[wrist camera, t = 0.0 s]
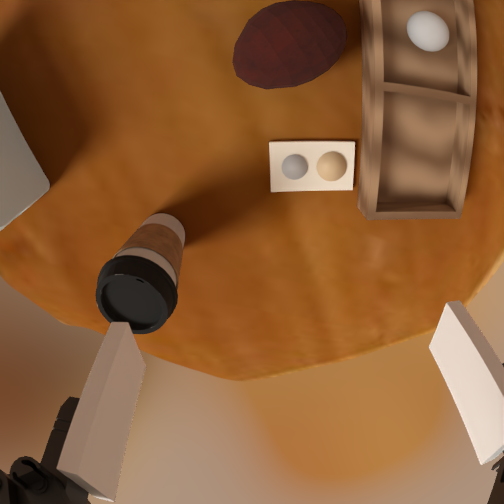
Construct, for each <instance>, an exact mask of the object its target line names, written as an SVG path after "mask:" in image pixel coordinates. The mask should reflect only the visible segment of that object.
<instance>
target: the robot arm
mask: <svg viewBox="0 0 504 504" xmlns="http://www.w3.org/2000/svg"><path fill="white" fill-rule="evenodd" d="M429 349H430V351H431V353H432V355H433V357H434V359H435V361H436V363H437V365H438V367H439V369H440V371H441V373H442V375H443V377H444V379H445V381H446V383H447V385H448V388H449V390H450V392H451V394H452V396H453V399H454V401H455V403H456V405H457V408H458V410H459V412H460V415H461V416H462V419H463V422H464V424H465V426H466V429H467V431H468V434H469V436H470V439H471V441H472V443H473V446H474V449H475V451H476V454H477V457H478V459H479V462H480V465H482V464H484V463H486V462H489V461H491V460H493V459H495V458H496V457H497V456H498V455H499V454H500V453H501V452H503V453H504V363H503V364H502V363H501V362H500V360H499V358H498V357H497V355H496V354H495V352H494V350H493V349H492V347H491V346H490V344H489V343H488V341H487V340H486V338H485V336H484V335H483V333H482V332H481V330H480V329H479V327H478V326H477V324H476V323H475V321H474V320H473V319H472V317H471V316H470V314H469V313H468V312H467V310H466V308H465V307H464V306H463V304H462V303H461V301H454V302H447V303H446V305H445V308H444V311H443V313H442V316H441V319H440V321H439V324H438V326H437V329H436V331H435V334H434V336H433V339H432V341H431V343H430V346H429ZM145 369H146V366H145V363H144V361H143V358H142V356H141V353H140V351H139V348H138V346H137V343H136V341H135V338H134V336H133V333H132V331H131V328H130V325H129V323H128V322H111V324H110V327H109V329H108V331H107V333H106V336H105V338H104V340H103V343H102V345H101V347H100V350H99V352H98V354H97V357H96V359H95V362H94V364H93V367H92V369H91V372H90V374H89V377H88V379H87V382H86V384H85V387H84V390H83V392H82V395H81V398H74V397H69V398H68V399H67V400H66V401H65V403H64V404H63V405H62V406H61V408H60V410H59V413H58V416H57V421H55V424H54V426H53V430H52V432H51V435H50V437H49V440H48V443H47V446H46V449H45V452H44V455H43V458H42V461H41V463H38V462H37V461H36V460H34V459H33V458H31V457H27V456H24V457H20V458H18V459H17V460H16V461H14V463H13V465H12V466H11V469H10V474H6V473H5V472H3V471H2V470H0V504H91V503H90V502H89V501H88V499H87V498H88V493H90V494H91V495H93V496H94V497H96V498H99V499H103V500H107V501H112V502H115V498H116V493H117V487H118V482H119V477H120V473H121V468H122V463H123V458H124V454H125V449H126V445H127V440H128V436H129V431H130V428H131V424H132V419H133V415H134V411H135V407H136V403H137V399H138V395H139V392H140V388H141V384H142V380H143V377H144V373H145ZM499 465H500V466H499ZM498 466H499V468H498V469H497V470H496V471H497V472H498V473H497V476H496V480H495V483H494V486H493V489H492V492H491V495H490V498H489V501H488V503H487V504H504V456H503V457H502V458H501V459H500V460H499V461H498V462H496V463H495V464H494V465H493V467H492V470H494V469H495V468H496V467H498Z"/></svg>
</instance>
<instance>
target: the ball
mask: <svg viewBox="0 0 504 504" xmlns="http://www.w3.org/2000/svg"><path fill="white" fill-rule="evenodd" d="M407 33H408V35H409V38H410V39H411V41H412V42H413V43H414V44H415V45H416V46H417V47H419V48H421V49H423V50H425V51H430V52H434V51H439V50H441V49H443V48H444V47H445V46H446V45H447V43H448V41H449V29H448V27H447V25H446V23H445V22H444V20H443V19H442V18H441V17H439V16H438V15H436V14H435V13H432V12H429V11H419V12H416V13H414V14H413V15H412V16H411V17H410V18H409V20H408V22H407Z"/></svg>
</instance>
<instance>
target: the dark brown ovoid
mask: <svg viewBox="0 0 504 504" xmlns="http://www.w3.org/2000/svg"><path fill="white" fill-rule="evenodd" d="M346 39H347V32H346V26H345V24H344V22H343V20H342V18H341V16H340V15H339V14H337V13H336V12H335V11H334V10H333V9H331V8H329V7H327V6H325V5H323V4H319V3H314V2H309V1H296V0H293V1H286V2H279V3H274V4H272V5H270V6H268V7H265V8H263V9H261V10H260V11H259V12H258V13H257V14H255V15H254V16H253V17H252V18H251V19H249V20H248V22H247V24H246V26H245V27H244V29H243V31H242V33H241V35H240V36H239V38H238V40H237V42H236V44H235V47H234V55H233V66H234V69H235V72H236V75H237V76H238V77H239V78H241V79H242V80H243V81H245V82H246V83H248V84H249V85H252V86H256V87H260V88H264V89H274V88H284V87H296V86H298V85H301V84H303V83H306V82H309V81H311V80H313V79H315V78H316V77H318V76H319V75H321V74H323V73H324V72H326V71H328V70H329V69H330V67H331V66H332V65H333V64H334V63H335V62H336V61H337V60H338V58H339V57H340V55H341V53H342V51H343V50H344V48H345V44H346Z"/></svg>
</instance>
